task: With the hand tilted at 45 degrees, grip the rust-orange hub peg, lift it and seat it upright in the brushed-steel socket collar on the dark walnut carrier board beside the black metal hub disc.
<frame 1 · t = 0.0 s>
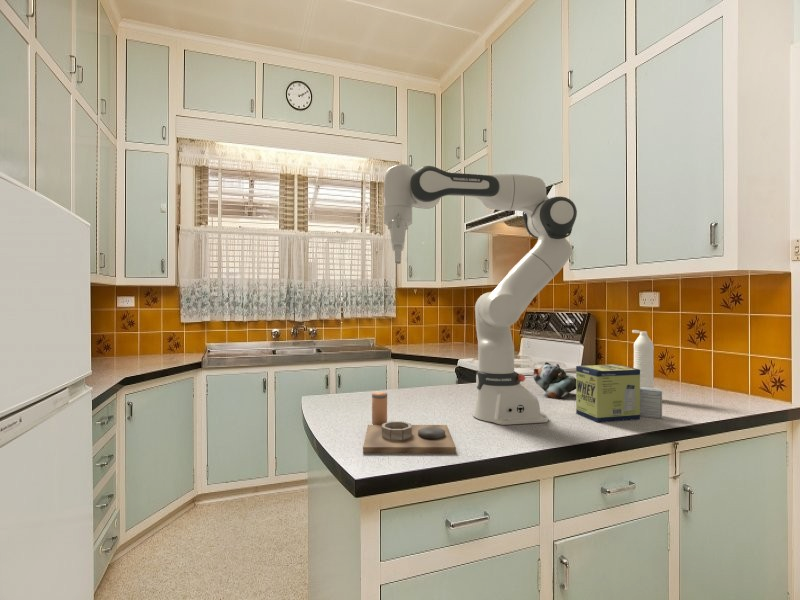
hand: (397, 262, 134), 48 cm above the counter, tool pointing down, fingers open, 8 cm apart
carrier board: (408, 440, 111), on the counter
hub peg: (379, 424, 126), on the counter
white pump bottle: (641, 398, 160), on the counter
protein box: (607, 417, 134), on the counter
medicine box: (646, 416, 136), on the counter
grey stuffed animal toy: (555, 395, 164), on the counter
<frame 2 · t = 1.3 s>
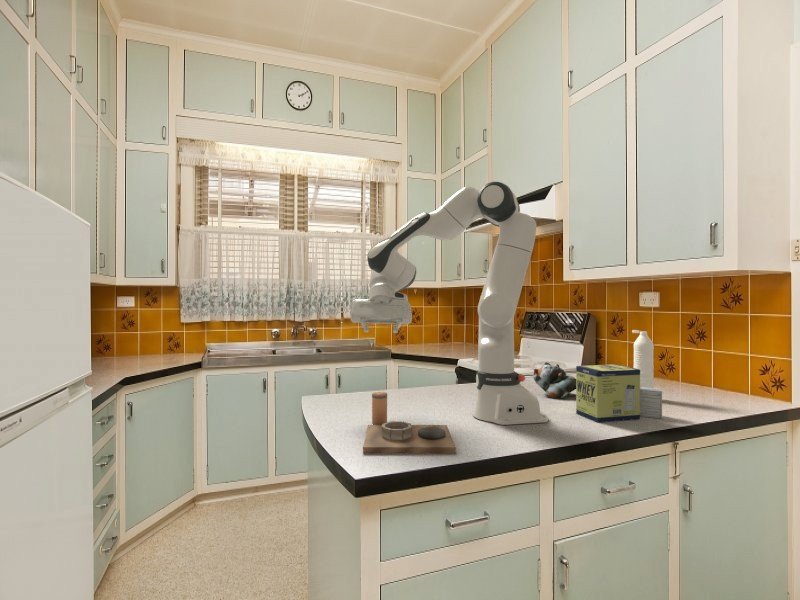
hand: (380, 331, 138), 26 cm above the counter, tool tilted 45°, fingers open, 8 cm apart
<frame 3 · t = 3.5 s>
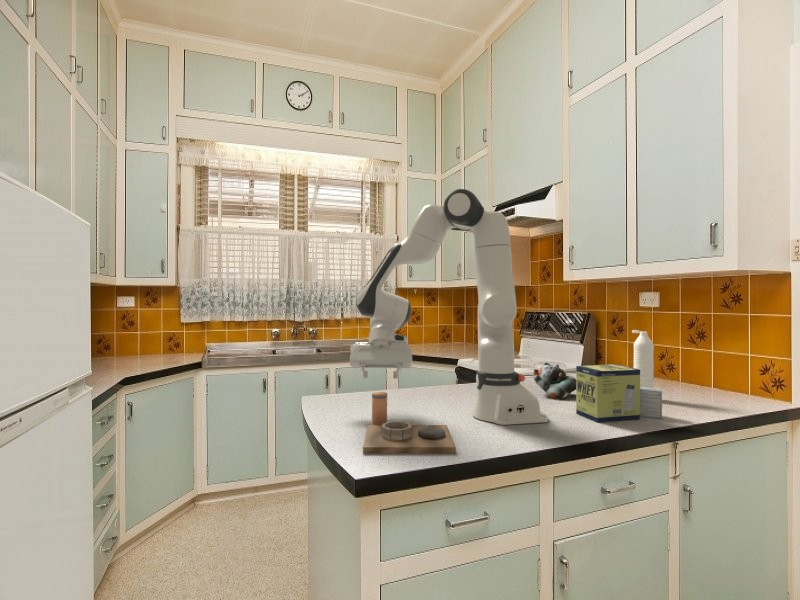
hand: (380, 377, 134), 12 cm above the counter, tool tilted 45°, fingers open, 8 cm apart
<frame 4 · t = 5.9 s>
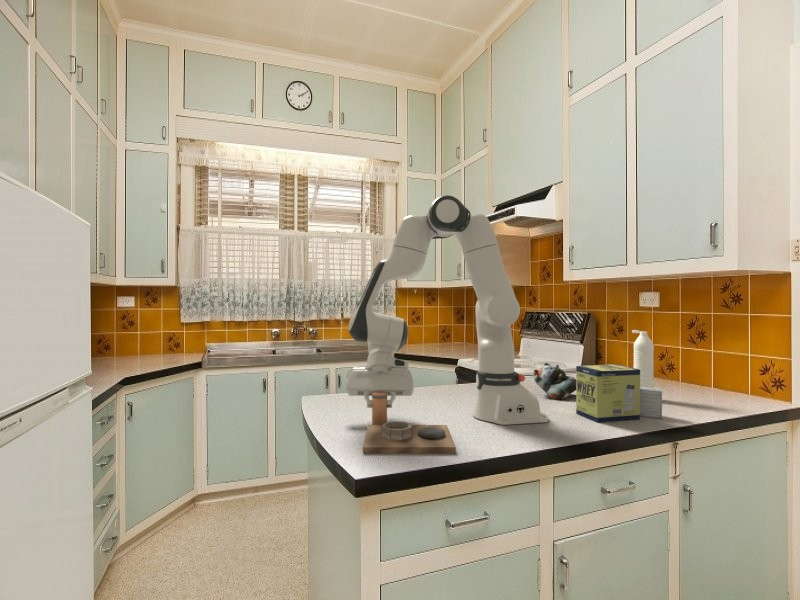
hand: (379, 406, 125), 5 cm above the counter, tool tilted 45°, fingers closed on hub peg, 4 cm apart
hub peg: (379, 424, 126), on the counter, touching gripper
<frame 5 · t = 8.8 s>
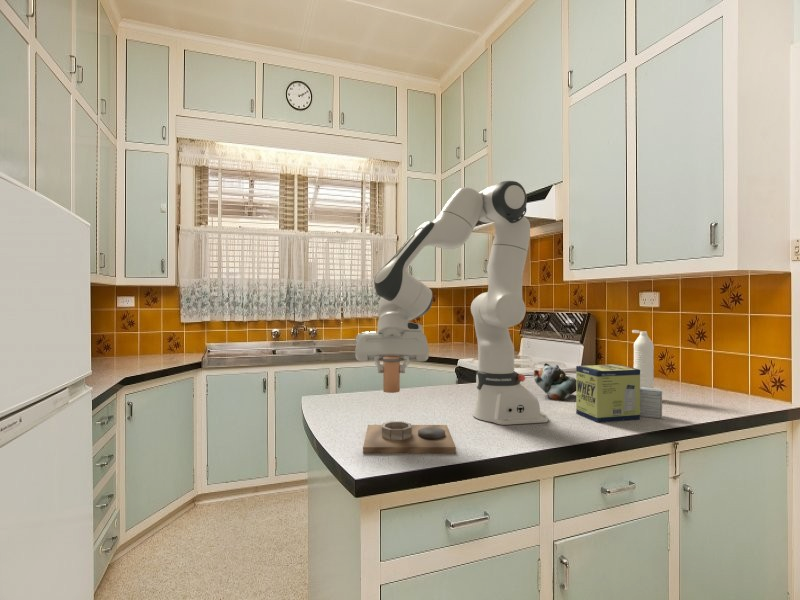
hand: (391, 372, 114), 17 cm above the counter, tool tilted 45°, fingers closed on hub peg, 4 cm apart
hub peg: (391, 391, 115), point 12 cm above the counter, touching gripper
when the fingers open (8 cm above the counter, at t = 11.3 s): hub peg drops 1 cm, resting on carrier board.
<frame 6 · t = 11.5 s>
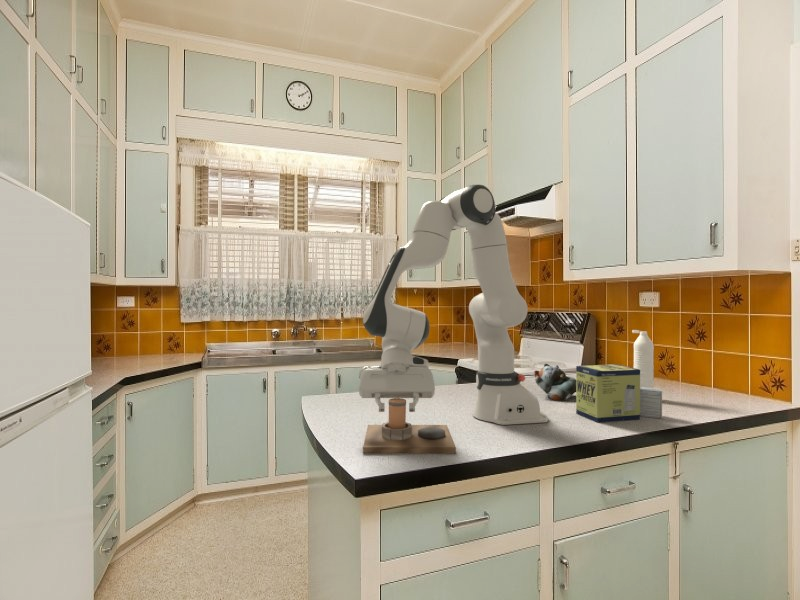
hand: (396, 410, 110), 8 cm above the counter, tool tilted 45°, fingers open, 6 cm apart
hub peg: (396, 435, 111), point 2 cm above the counter, touching carrier board
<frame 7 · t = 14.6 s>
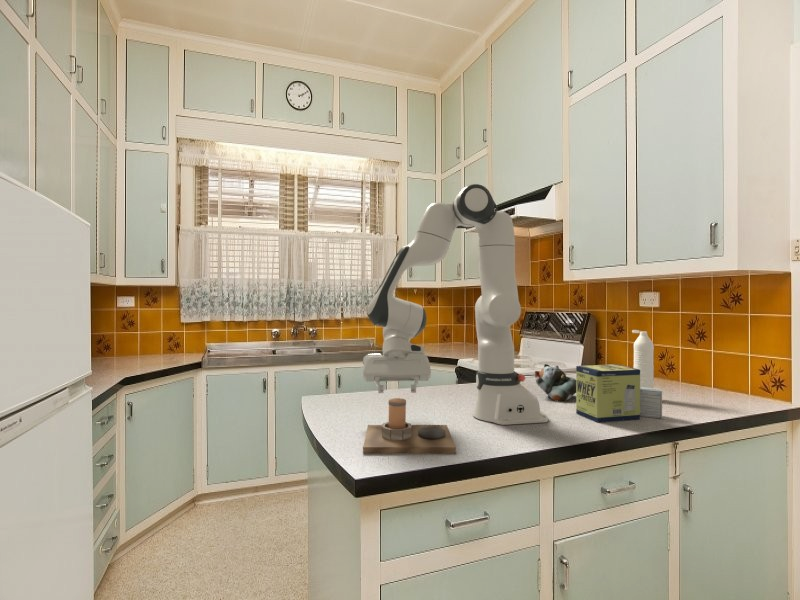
hand: (397, 391, 124), 10 cm above the counter, tool tilted 45°, fingers open, 8 cm apart
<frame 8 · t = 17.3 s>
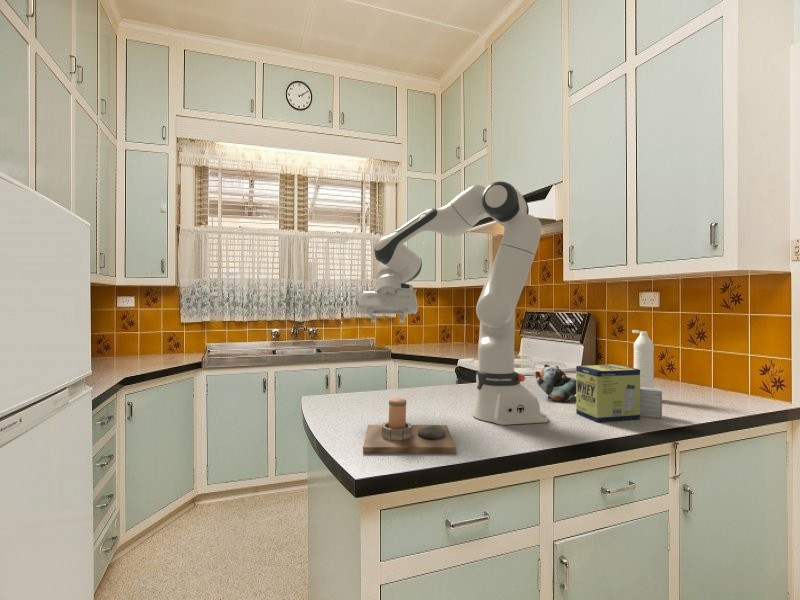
hand: (387, 321, 141), 29 cm above the counter, tool tilted 45°, fingers open, 8 cm apart
at the end: hub peg 0.0 cm from the target spot on the carrier board, point 1.5 cm above the carrier board's base; hub peg tilted 1°; the gripper is holding nothing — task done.
